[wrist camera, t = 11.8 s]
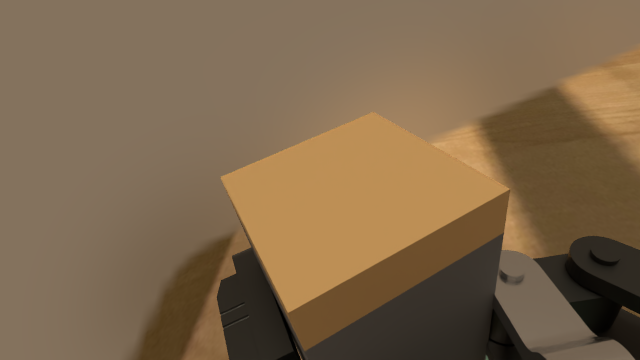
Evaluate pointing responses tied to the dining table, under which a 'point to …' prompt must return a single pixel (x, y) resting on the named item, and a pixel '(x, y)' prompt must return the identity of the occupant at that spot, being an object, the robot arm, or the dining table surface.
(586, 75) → the dining table surface
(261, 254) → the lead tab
